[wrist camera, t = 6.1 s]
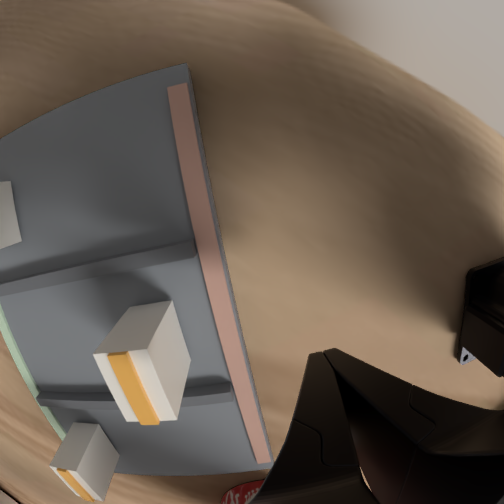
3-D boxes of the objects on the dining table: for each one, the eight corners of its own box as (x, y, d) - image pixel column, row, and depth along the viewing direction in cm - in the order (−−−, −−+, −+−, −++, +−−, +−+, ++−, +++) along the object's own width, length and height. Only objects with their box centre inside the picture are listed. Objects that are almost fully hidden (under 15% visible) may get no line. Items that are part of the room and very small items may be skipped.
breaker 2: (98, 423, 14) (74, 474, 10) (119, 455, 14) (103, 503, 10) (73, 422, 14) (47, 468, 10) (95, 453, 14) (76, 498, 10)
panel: (190, 71, 11) (183, 55, 9) (273, 456, 16) (275, 476, 14) (-27, 164, 11) (-47, 164, 9) (89, 460, 16) (82, 476, 14)
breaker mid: (172, 299, 12) (145, 352, 8) (190, 360, 13) (176, 423, 9) (129, 306, 12) (90, 357, 8) (150, 364, 13) (125, 425, 9)
